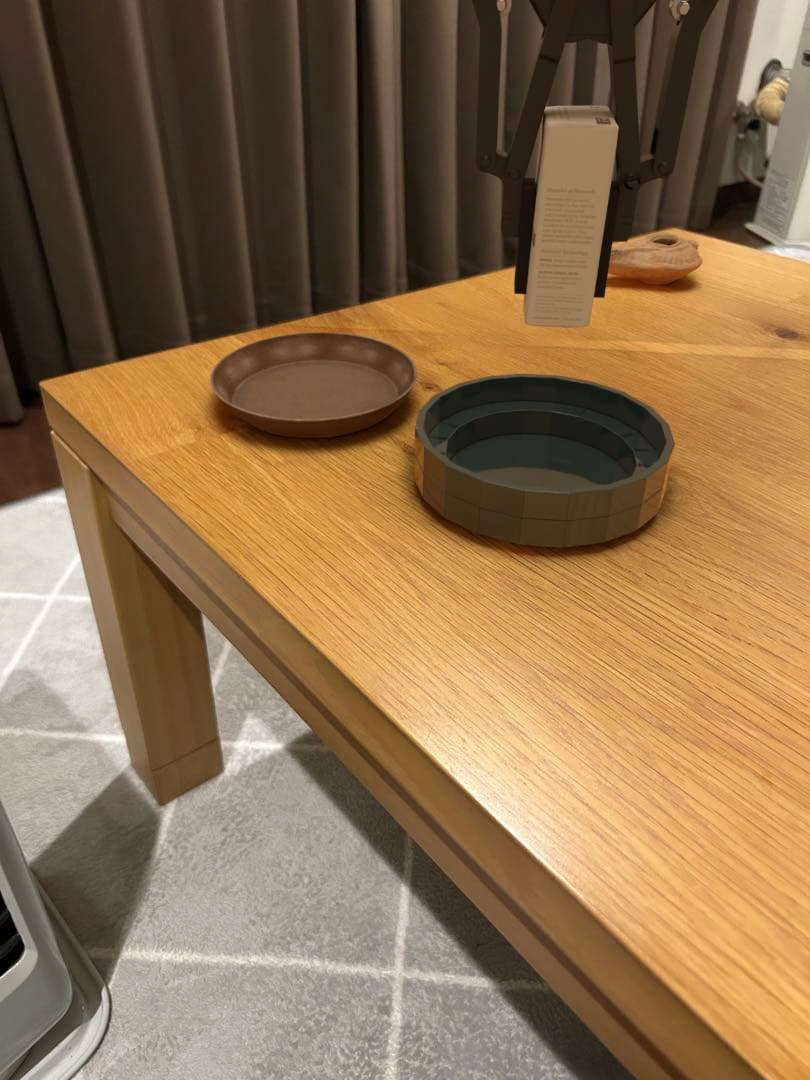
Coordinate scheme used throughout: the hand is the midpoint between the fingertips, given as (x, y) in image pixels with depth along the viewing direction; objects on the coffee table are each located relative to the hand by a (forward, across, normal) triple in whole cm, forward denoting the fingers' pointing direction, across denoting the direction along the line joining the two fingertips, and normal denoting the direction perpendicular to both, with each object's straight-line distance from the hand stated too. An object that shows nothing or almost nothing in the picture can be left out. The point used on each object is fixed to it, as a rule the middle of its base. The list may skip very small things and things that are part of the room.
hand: (558, 288), depth 57 cm
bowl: (+15, 0, 0) cm, 15 cm away
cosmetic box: (+2, 0, 0) cm, 2 cm away
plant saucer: (+15, -19, +12) cm, 27 cm away
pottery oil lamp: (+15, +14, +50) cm, 54 cm away
